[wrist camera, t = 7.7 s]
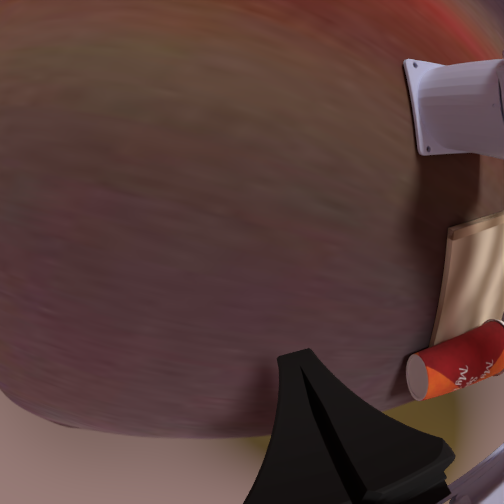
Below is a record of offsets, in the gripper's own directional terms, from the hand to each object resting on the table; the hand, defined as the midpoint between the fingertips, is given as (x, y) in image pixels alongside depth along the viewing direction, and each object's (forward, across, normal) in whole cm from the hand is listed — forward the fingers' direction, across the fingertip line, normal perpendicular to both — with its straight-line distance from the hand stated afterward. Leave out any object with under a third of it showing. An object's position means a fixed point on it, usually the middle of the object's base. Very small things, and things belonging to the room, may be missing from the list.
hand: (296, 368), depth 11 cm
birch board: (+10, -26, +10) cm, 30 cm away
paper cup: (+7, -14, +16) cm, 22 cm away
